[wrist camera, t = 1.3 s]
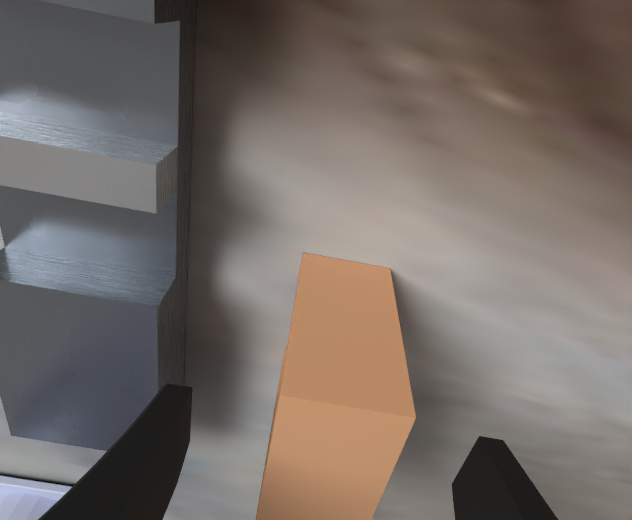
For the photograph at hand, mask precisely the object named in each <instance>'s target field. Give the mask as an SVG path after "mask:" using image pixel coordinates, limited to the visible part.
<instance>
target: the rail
mask: <svg viewBox="0 0 632 520" xmlns="http://www.w3.org/2000/svg"><path fill="white" fill-rule="evenodd" d="M195 26H196V0H0V226H1V231H2V236H3V240H4V245H5V247H4V248H3V249H1V250H0V396H1V400H2V403H3V407H4V411H5V414H6V418H7V421H8V425H9V429H10V432H11V436H17V437H23V438H30V439H36V440H42V441H49V442H55V443H61V444H68V445H74V446H80V447H86V448H93V449H99V450H105V451H108V450H109V449H110V448H111V447H112V446H113V445H114V443H115V442H116V441H117V440H118V439H119V438H120V437H121V436H122V435H123V434H124V433H125V431H126V430H127V429H128V428H129V427H130V426H131V425H132V423H133V422H134V421H135V420H136V419H137V418H138V416H139V415H140V414H141V413H142V412H143V410H144V409H145V408H146V407H147V406H148V404H149V403H150V402H151V401H152V399H153V398H154V397H155V395H156V394H157V393H158V391H159V390H160V389H161V387H162V386H164V385H165V384H167V383H168V384H174V385H179V386H184V363H185V333H186V302H187V271H188V241H189V210H190V179H191V148H192V118H193V87H194V56H195Z"/></svg>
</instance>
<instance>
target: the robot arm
mask: <svg viewBox="0 0 632 520" xmlns="http://www.w3.org/2000/svg"><path fill="white" fill-rule="evenodd" d="M191 403H192V388H191V387H185V386H179V385H174V384H168V383H167V384H165V385H164V386H162V387H161V389H160V390H159V391H158V393H157V394H156V395H155V397H154V398H153V399H152V401H151V402H150V403H149V404H148V406H147V407H146V408H145V409H144V410H143V412H142V413H141V414H140V415H139V416H138V418H137V419H136V420H135V421H134V422H133V423H132V425H131V426H130V427H129V428H128V429H127V430H126V431H125V433H124V434H123V435H122V436H121V437H120V438H119V439H118V440H117V441H116V442H115V443H114V445H113V446H112V447H111V448H110V449H109V450H108V451H107V452H106V453H105V454H104V455H103V456H102V458H101V459H100V460H99V461H98V462H97V463H96V464H95V465H94V466H93V467H92V468H91V469H90V470H89V471H88V472H87V473H86V474H85V475H84V476H83V477H82V478H81V479H80V480H79V481H78V482H77V483H76V484H75V485H74V486H73V487H71V486H65V485H58V484H52V483H46V482H39V481H33V480H26V479H20V478H13V477H7V476H0V520H162V519H163V517H164V514H165V512H166V509H167V507H168V505H169V502H170V500H171V497H172V495H173V492H174V490H175V487H176V485H177V482H178V479H179V475H180V472H181V469H182V466H183V462H184V459H185V456H186V452H187V449H188V445H189V442H190V425H191ZM452 491H453V502H454V512H455V520H558V519H557V517H556V516H555V515H554V513H553V512H552V510H551V509H550V507H549V506H548V505H547V503H546V502H545V500H544V499H543V497H542V496H541V495H540V493H539V492H538V490H537V489H536V487H535V486H534V484H533V483H532V482H531V480H530V479H529V477H528V476H527V474H526V473H525V471H524V470H523V468H522V467H521V465H520V464H519V463H518V461H517V460H516V458H515V457H514V455H513V454H512V452H511V451H510V449H509V448H508V447H507V445H506V444H505V442H504V441H503V440H499V439H493V438H487V437H481V436H479V438H478V439H477V441H476V443H475V445H474V446H473V448H472V450H471V452H470V453H469V455H468V457H467V459H466V460H465V462H464V464H463V465H462V467H461V469H460V471H459V472H458V474H457V476H456V478H455V479H454V481H453V483H452Z"/></svg>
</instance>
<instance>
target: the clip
mask: <svg viewBox="0 0 632 520" xmlns="http://www.w3.org/2000/svg"><path fill="white" fill-rule="evenodd" d="M415 419H416V415H415V409H414V403H413V397H412V392H411V386H410V380H409V374H408V368H407V363H406V357H405V351H404V345H403V340H402V334H401V328H400V322H399V317H398V311H397V305H396V299H395V293H394V288H393V282H392V276H391V270H390V269H389V268H384V267H378V266H373V265H367V264H362V263H356V262H351V261H345V260H340V259H334V258H329V257H323V256H318V255H312V254H307V253H303V256H302V262H301V267H300V272H299V278H298V283H297V289H296V296H295V302H294V308H293V314H292V320H291V326H290V332H289V338H288V344H287V348H286V347H285V352H284V357H283V362H282V368H281V374H280V380H279V385H278V391H277V397H276V403H275V409H274V415H273V421H272V427H271V433H270V439H269V444H268V450H267V456H266V462H265V468H264V474H263V480H262V486H261V492H260V497H259V503H258V509H257V515H256V520H372V517H373V515H374V513H375V510H376V508H377V506H378V504H379V501H380V499H381V497H382V494H383V492H384V490H385V488H386V485H387V483H388V481H389V479H390V476H391V474H392V472H393V469H394V467H395V465H396V463H397V460H398V458H399V456H400V454H401V451H402V449H403V447H404V444H405V442H406V440H407V438H408V435H409V433H410V431H411V428H412V426H413V424H414V422H415Z"/></svg>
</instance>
